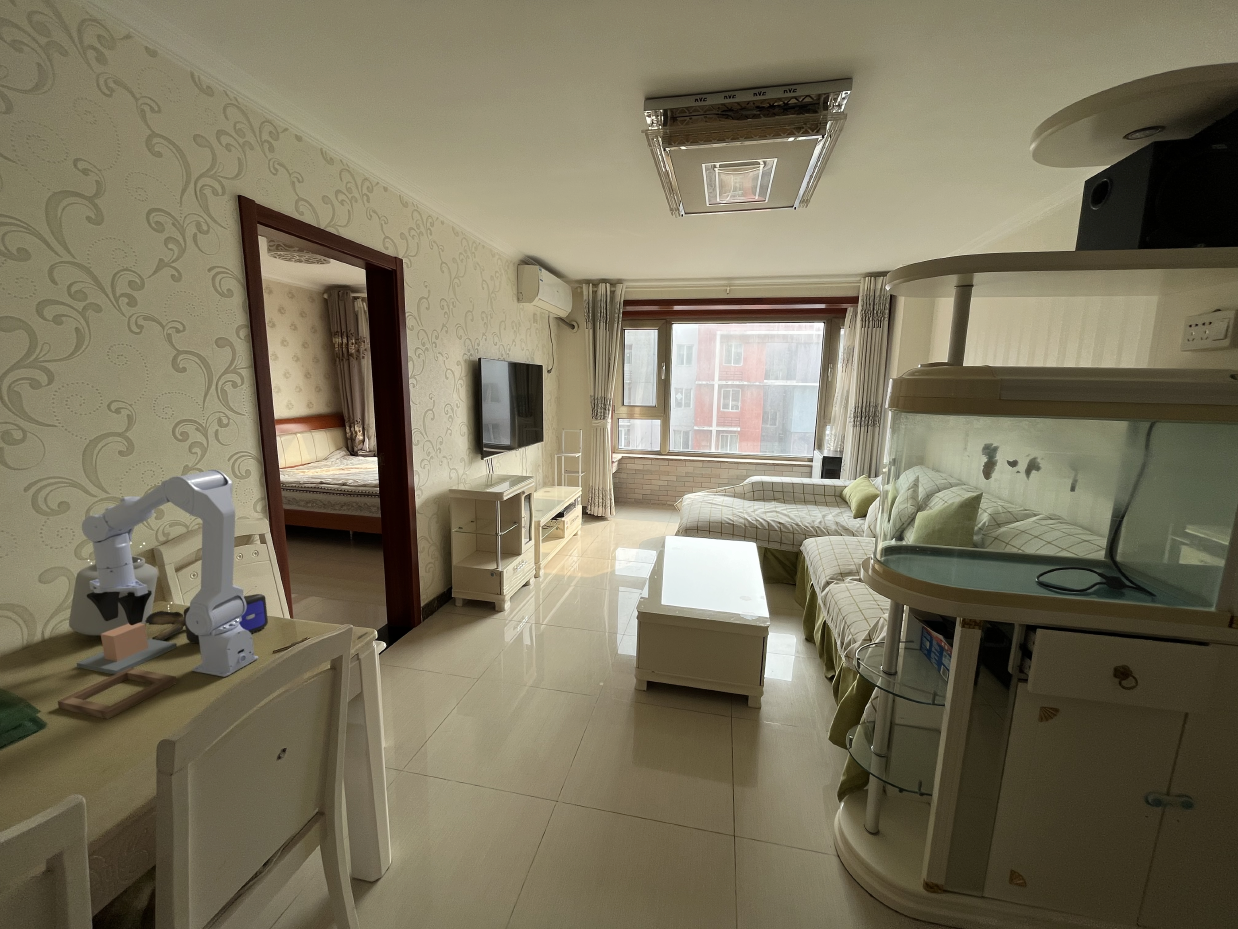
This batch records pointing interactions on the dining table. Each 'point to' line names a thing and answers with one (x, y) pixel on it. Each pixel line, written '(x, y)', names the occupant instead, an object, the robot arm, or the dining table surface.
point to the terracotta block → (124, 641)
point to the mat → (136, 659)
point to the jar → (89, 617)
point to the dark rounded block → (251, 618)
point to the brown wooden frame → (79, 703)
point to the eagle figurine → (166, 618)
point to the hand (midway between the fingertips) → (123, 621)
